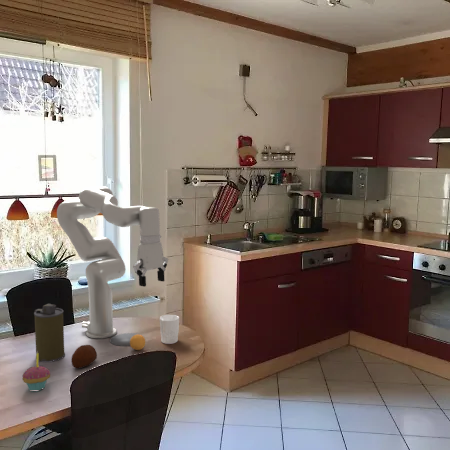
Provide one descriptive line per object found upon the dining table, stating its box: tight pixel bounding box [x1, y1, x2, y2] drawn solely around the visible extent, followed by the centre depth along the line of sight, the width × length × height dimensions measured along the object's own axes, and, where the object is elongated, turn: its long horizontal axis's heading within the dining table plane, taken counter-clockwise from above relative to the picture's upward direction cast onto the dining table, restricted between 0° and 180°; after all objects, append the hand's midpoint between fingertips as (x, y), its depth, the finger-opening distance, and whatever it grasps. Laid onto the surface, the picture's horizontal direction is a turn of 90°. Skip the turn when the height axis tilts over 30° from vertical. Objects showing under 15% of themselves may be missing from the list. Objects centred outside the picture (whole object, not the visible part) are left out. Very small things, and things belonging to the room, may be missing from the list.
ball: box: [129, 333, 146, 351], centre depth 197 cm, size 6×6×6 cm
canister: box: [33, 303, 66, 362], centre depth 188 cm, size 11×10×20 cm
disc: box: [109, 332, 141, 347], centre depth 207 cm, size 14×14×1 cm
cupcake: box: [22, 351, 51, 391], centre depth 163 cm, size 9×8×12 cm
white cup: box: [159, 314, 180, 345], centre depth 206 cm, size 8×8×10 cm
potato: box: [71, 344, 98, 369], centre depth 181 cm, size 8×12×8 cm, turn 164°
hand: (152, 283), depth 194 cm, fingers open, 9 cm apart
